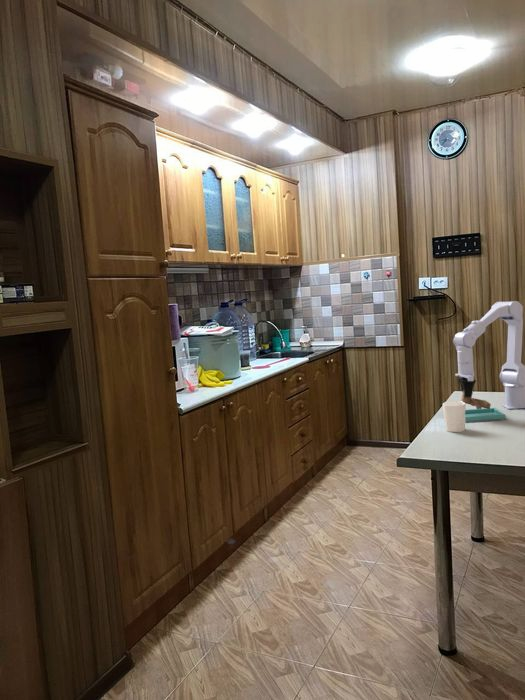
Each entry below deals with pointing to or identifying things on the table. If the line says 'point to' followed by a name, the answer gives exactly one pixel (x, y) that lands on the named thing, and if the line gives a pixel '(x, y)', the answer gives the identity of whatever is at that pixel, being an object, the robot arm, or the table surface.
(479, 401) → the collar
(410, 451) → the table surface
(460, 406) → the white cup
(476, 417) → the tray
